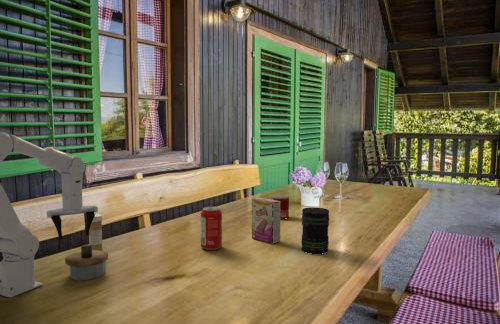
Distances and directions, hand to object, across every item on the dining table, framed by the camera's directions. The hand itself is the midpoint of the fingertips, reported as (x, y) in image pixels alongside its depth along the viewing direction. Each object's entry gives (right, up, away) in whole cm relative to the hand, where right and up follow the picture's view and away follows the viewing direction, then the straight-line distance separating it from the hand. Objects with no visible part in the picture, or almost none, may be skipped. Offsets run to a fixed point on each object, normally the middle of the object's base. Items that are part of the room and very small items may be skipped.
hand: (73, 237), depth 125 cm
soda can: (+42, -8, +22) cm, 47 cm away
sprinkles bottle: (+1, -9, +16) cm, 18 cm away
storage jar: (+80, -9, +19) cm, 82 cm away
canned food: (+71, -4, +69) cm, 99 cm away
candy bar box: (+62, -8, +31) cm, 70 cm away
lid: (+6, -7, -5) cm, 10 cm away
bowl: (+6, -10, -4) cm, 13 cm away
